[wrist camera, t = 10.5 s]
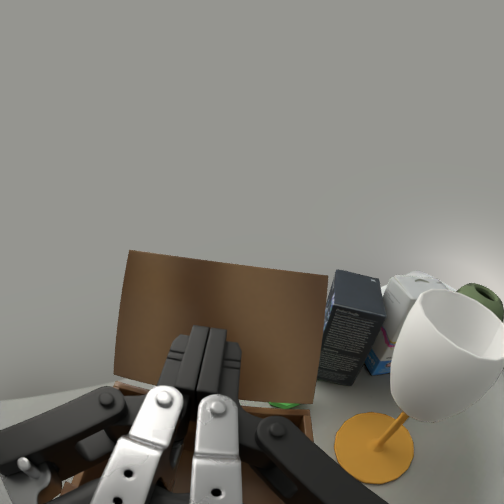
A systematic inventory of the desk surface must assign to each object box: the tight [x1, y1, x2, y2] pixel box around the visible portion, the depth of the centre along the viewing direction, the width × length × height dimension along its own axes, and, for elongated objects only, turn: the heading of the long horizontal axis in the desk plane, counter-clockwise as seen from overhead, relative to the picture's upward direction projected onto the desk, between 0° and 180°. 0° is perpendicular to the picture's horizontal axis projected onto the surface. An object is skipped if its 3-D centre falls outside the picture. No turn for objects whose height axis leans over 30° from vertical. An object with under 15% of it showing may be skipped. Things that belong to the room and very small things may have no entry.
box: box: [317, 270, 387, 386], centre depth 29 cm, size 8×6×11 cm
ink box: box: [365, 275, 449, 375], centre depth 29 cm, size 9×5×12 cm, turn 95°
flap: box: [114, 250, 328, 404], centre depth 16 cm, size 13×8×1 cm
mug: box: [456, 283, 504, 322], centre depth 35 cm, size 16×13×9 cm
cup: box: [334, 289, 504, 484], centre depth 17 cm, size 9×9×16 cm
